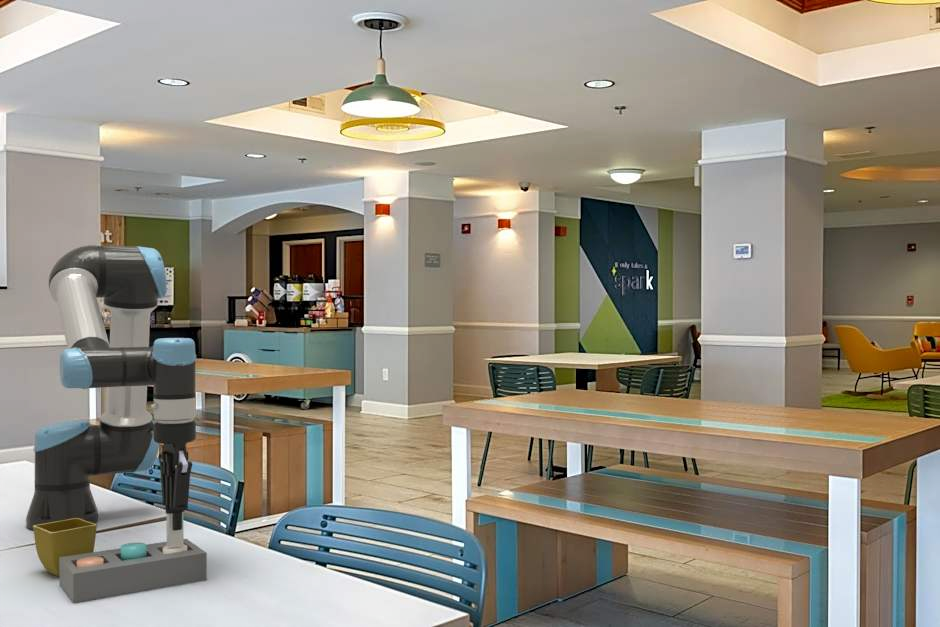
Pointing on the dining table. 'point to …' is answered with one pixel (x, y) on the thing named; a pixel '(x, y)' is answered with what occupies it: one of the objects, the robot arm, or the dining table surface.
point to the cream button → (174, 549)
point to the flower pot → (63, 541)
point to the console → (131, 572)
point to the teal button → (133, 551)
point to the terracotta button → (89, 561)
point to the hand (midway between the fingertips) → (175, 546)
